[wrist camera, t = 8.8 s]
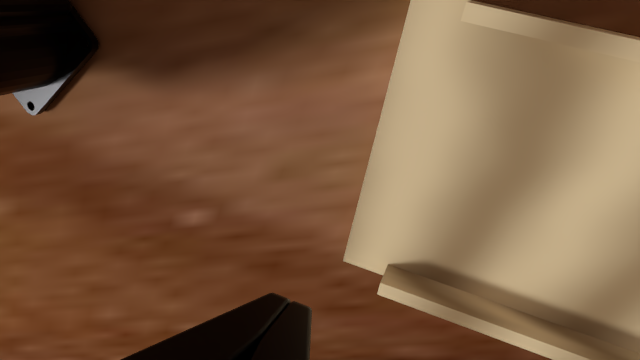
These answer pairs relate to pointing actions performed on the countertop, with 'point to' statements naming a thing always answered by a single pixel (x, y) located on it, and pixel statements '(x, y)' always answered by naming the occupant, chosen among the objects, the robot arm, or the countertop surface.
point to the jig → (509, 180)
